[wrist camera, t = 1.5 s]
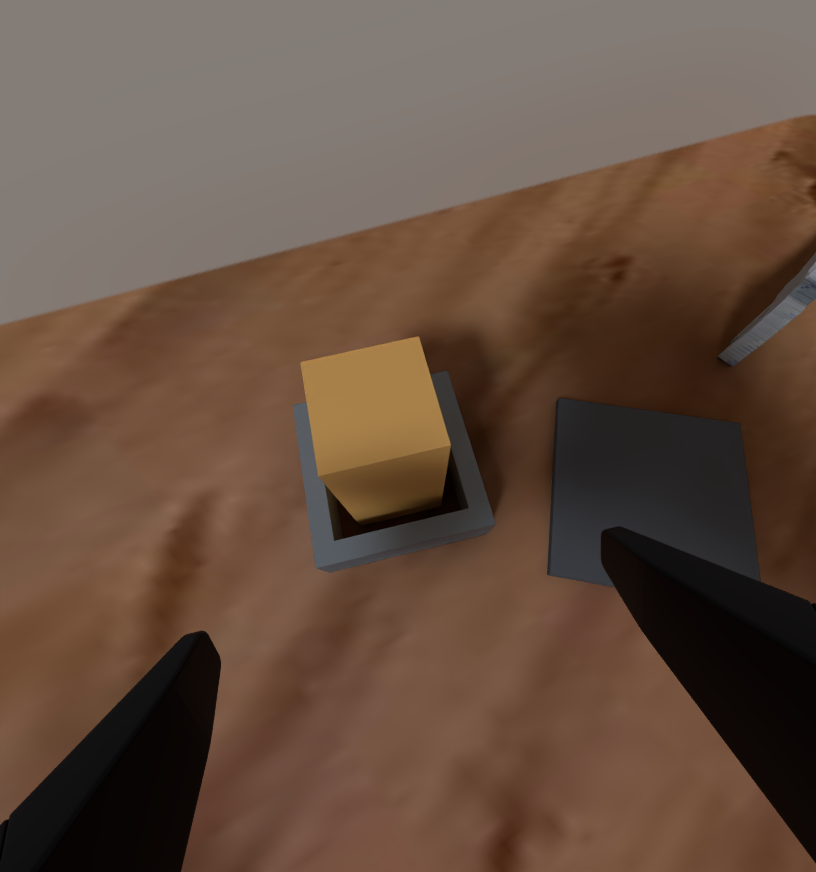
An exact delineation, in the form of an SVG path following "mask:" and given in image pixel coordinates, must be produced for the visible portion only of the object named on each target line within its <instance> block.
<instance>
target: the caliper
mask: <svg viewBox="0 0 816 872" xmlns="http://www.w3.org/2000/svg"><path fill="white" fill-rule="evenodd" d="M814 299H816V252H815V254H814V255H813V256H812V257H811V258H810V260H809V261H808V262H807V263H806V264H805V266H804V267H803V268H802V269H801V271H800V272H799V273H798V274H797V275H796V276H795V277H794V278H793V279H792V280H790V281H789V282H788V283H787V284H786V285H785V286H784V288H783V289H782V290H781V292H780V293H779V294H778V295H777V296H776V299H775V300H774V302H773V303H771V304H770V305H769V306H768V307H767V308H766V309H765V310H764V311H763V312H762V313H761V314H760V315H759V316H757V317H756V318H755V319H754V320H753V321H752V322H751V323H750V324H749V325H748V326H747V327H746V328H745V329H744V330H742V331H741V332H740V333H739V334H738V335H737V336H736V337H735V338H734V339H733V340H732V341H731V342H730V344H731V345H730V346H729V347H728V348H726V349H725V350H724V351H723V352H722V353H721V354H720V355H719V356H718V357H719V358H720V359H722V360H723V361H725V362H726V363H728V364H729V365H731V366H734V365H736V364H737V363H738V362H740V361H741V360H742V359H744V358H745V357H746V356H748V355H749V354H750V353H751V352H753V351H754V350H755V349H757V348H758V347H759V346H761V345H762V344H763V343H765V342H766V341H767V340H768V339H770V338H771V337H772V336H773V335H774V334H776V333H777V332H778V331H779V330H780V329H782V328H783V327H784V326H785V325H787V324H788V323H789V322H790V321H791V320H793V319H794V318H795V317H796V316H797V315H799V314H800V313H801V312H802V311H803V310H804V309H805V308H806V307H807V305H808V304H810V303H811V302H812V301H813V300H814Z"/></svg>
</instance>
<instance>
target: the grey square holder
mask: <svg viewBox="0 0 816 872" xmlns="http://www.w3.org/2000/svg"><path fill="white" fill-rule="evenodd" d="M430 376H431V379H432V383H433V386H434V389H435V393H436V396H437V400H438V403H439V406H440V410H441V413H442V417H443V420H444V423H445V427H446V430H447V434H448V437H449V440H450V444H451V448H450V454H449V460H448V468H449V471H450V475H451V478H452V481H453V485H454V488H455V492H456V495H457V499H458V502H459V506H460V509H461V510H460V511H455V512H451V513H447V514H443V515H439V516H435V517H431V518H427V519H423V520H418V521H414V522H410V523H406V524H402V525H398V526H394V527H390V528H386V529H381V530H377V531H373V532H369V533H365V534H361V535H357V536H353V537H349V538H344V537H343V531H342V525H341V519H340V513H339V508H338V502H337V498H336V497H335V495H334V494H333V493H332V492H331V491H330V490H329V488H328V487H327V486H326V485H325V484H324V482H323V481H322V480H321V479H320V478H319V477H318V472H317V465H316V459H315V452H314V446H313V440H312V433H311V427H310V420H309V414H308V407H307V402H305V403H300V404H296V405H293V410H294V417H295V424H296V431H297V439H298V446H299V453H300V460H301V467H302V474H303V481H304V488H305V495H306V502H307V510H308V517H309V524H310V531H311V538H312V545H313V552H314V559H315V566H316V568H317V569H320V570H323V571H326V572H334V571H338V570H342V569H347V568H351V567H355V566H359V565H363V564H367V563H371V562H375V561H379V560H383V559H387V558H391V557H395V556H399V555H403V554H407V553H411V552H415V551H419V550H423V549H427V548H432V547H436V546H440V545H444V544H448V543H452V542H456V541H460V540H464V539H468V538H472V537H476V536H480V535H484V534H487V533H488V532H489V531H490V530H491V529H492V528H493V527H494V526H495V524H496V523H495V519H494V516H493V513H492V510H491V507H490V504H489V500H488V497H487V494H486V491H485V488H484V484H483V481H482V478H481V475H480V472H479V469H478V465H477V462H476V459H475V456H474V453H473V450H472V446H471V443H470V440H469V437H468V434H467V431H466V427H465V424H464V421H463V418H462V415H461V411H460V408H459V405H458V402H457V399H456V396H455V392H454V389H453V386H452V383H451V380H450V377H449V373H448V370H447V371H443V372H438V373H434V374H430Z"/></svg>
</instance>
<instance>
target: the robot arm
mask: <svg viewBox="0 0 816 872" xmlns="http://www.w3.org/2000/svg"><path fill="white" fill-rule="evenodd" d="M601 563H602V565H603V568H604V570H605V571H606V573H607V575H608V576H609V578H610V580H611V581H612V583H613V585H614V586H615V588H616V590H617V591H618V593H619V595H620V596H621V598H622V599H623V601H624V603H625V604H626V606H627V608H628V609H629V611H630V613H631V614H632V616H633V618H634V619H635V621H636V622H637V624H638V626H639V627H640V629H641V630H642V632H643V633H644V634H645V636H646V637H647V639H648V640H649V641H650V643H651V644H652V645H653V647H654V648H655V649H656V651H657V652H658V653H659V655H660V656H661V657H662V659H663V660H664V661H665V663H666V664H667V665H668V667H669V668H670V669H671V671H672V672H673V673H674V675H675V676H676V677H677V679H678V680H679V681H680V683H681V684H682V685H683V687H684V688H685V689H686V691H687V692H688V693H689V695H690V696H691V697H692V699H693V700H694V701H695V703H696V704H697V705H698V707H699V708H700V709H701V711H702V712H703V713H704V715H705V716H706V717H707V719H708V720H709V721H710V723H711V724H712V725H713V727H714V728H715V729H716V731H717V732H718V733H719V735H720V736H721V737H722V739H723V740H724V741H725V743H726V744H727V745H728V747H729V748H730V750H731V751H732V752H733V754H734V755H735V756H736V758H737V759H738V760H739V762H740V763H741V764H742V766H743V767H744V768H745V770H746V771H747V772H748V774H749V775H750V776H751V778H752V779H753V780H754V782H755V783H756V784H757V786H758V787H759V788H760V790H761V791H762V792H763V794H764V795H765V796H766V798H767V799H768V800H769V802H770V803H771V804H772V806H773V807H774V808H775V810H776V811H777V812H778V814H779V815H780V816H781V818H782V819H783V820H784V822H785V823H786V824H787V826H788V827H789V828H790V830H791V831H792V832H793V834H794V835H795V836H796V838H797V839H798V840H799V842H800V843H801V844H802V846H803V847H804V848H805V850H806V851H807V852H808V854H809V855H810V856H811V858H812V859H813V860H814V862H815V863H816V604H815V603H813V604H811V603H810V602H809V601H808V600H805V599H803V598H800V597H798V596H795V595H793V594H790V593H788V592H785V591H783V590H780V589H778V588H775V587H772V586H770V585H767V584H765V583H762V582H760V581H757V580H755V579H752V578H750V577H747V576H745V575H742V574H740V573H737V572H735V571H732V570H730V569H727V568H725V567H722V566H720V565H717V564H715V563H712V562H710V561H707V560H704V559H702V558H699V557H697V556H694V555H692V554H689V553H687V552H684V551H682V550H679V549H677V548H674V547H672V546H669V545H667V544H664V543H662V542H659V541H657V540H654V539H652V538H649V537H647V536H644V535H642V534H639V533H637V532H634V531H631V530H629V529H626V528H624V527H621V526H616V527H612V528H608V529H605V530H603V531H602V532H601ZM220 670H221V659H220V656H219V654H218V652H217V650H216V648H215V646H214V644H213V642H212V641H211V639H210V637H209V635H208V634H207V633H206V632H205V631H198V632H194V633H190V634H187V635H184V636H183V637H182V638H181V639H180V640H179V641H178V642H177V643H176V644H175V645H174V646H173V647H172V648H171V649H170V650H169V651H168V652H167V653H166V654H165V655H164V656H163V657H162V658H161V659H160V660H159V661H158V663H157V664H156V665H155V666H154V667H153V668H152V669H151V670H150V671H149V672H148V673H147V674H146V675H145V676H144V677H143V678H142V679H141V680H140V681H139V682H138V683H137V684H136V685H135V686H134V687H133V688H132V689H131V690H130V691H129V693H128V694H127V695H126V696H125V697H124V698H123V699H122V700H121V701H120V702H119V703H118V704H117V705H116V706H115V707H114V708H113V709H112V710H111V711H110V712H109V713H108V714H107V715H106V716H105V717H104V718H103V719H102V720H101V721H100V722H99V724H98V725H97V726H96V727H95V728H94V729H93V730H92V731H91V732H90V733H89V734H88V735H87V736H86V737H85V738H84V739H83V740H82V741H81V742H80V743H79V744H78V745H77V746H76V747H75V748H74V749H73V750H72V751H71V752H70V753H69V755H68V756H67V757H66V758H65V759H64V760H63V761H62V762H61V763H60V764H59V765H58V766H57V767H56V768H55V769H54V770H53V771H52V772H51V773H50V774H49V775H48V776H47V777H46V778H45V779H44V780H43V781H42V782H41V783H40V784H39V786H38V787H37V788H36V789H35V790H34V791H33V792H32V793H31V794H30V795H29V796H28V797H27V798H26V799H25V800H24V801H23V802H22V803H21V804H20V805H19V806H18V807H17V808H16V809H15V810H14V811H13V812H12V813H11V815H10V817H9V819H8V820H5V821H4V822H3V823H2V824H1V825H0V872H181V869H182V865H183V861H184V856H185V852H186V848H187V844H188V839H189V835H190V831H191V826H192V822H193V818H194V813H195V809H196V805H197V801H198V796H199V792H200V788H201V783H202V779H203V775H204V770H205V766H206V762H207V758H208V753H209V748H210V743H211V737H212V731H213V723H214V716H215V708H216V701H217V693H218V685H219V678H220Z"/></svg>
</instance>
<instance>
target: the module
mask: <svg viewBox="0 0 816 872" xmlns="http://www.w3.org/2000/svg"><path fill="white" fill-rule="evenodd" d="M300 363H301V369H302V375H303V382H304V388H305V395H306V401H307V407H308V414H309V420H310V427H311V433H312V440H313V446H314V452H315V459H316V465H317V472H318V477H319V478H320V479H321V480H322V481H323V482H324V484H325V485H326V486H327V487H328V488H329V490H330V491H331V492H332V493H333V494H334V495H335V497H336V498H337V499H338V500H339V501H340V502H341V504H342V505H343V506H344V507H345V508H346V509H347V511H348V512H349V513H350V514H351V515H352V517H353V518H354V519H355V520H356V521H357V522H358V524H359V525H360V526H363V525H367V524H371V523H375V522H379V521H383V520H387V519H392V518H396V517H400V516H404V515H408V514H412V513H416V512H421V511H425V510H429V509H433V508H437V507H441V502H442V496H443V490H444V484H445V478H446V472H447V466H448V460H449V454H450V448H451V444H450V440H449V437H448V434H447V430H446V427H445V423H444V420H443V417H442V413H441V410H440V406H439V403H438V400H437V396H436V393H435V389H434V386H433V383H432V379H431V376H430V372H429V369H428V366H427V362H426V359H425V356H424V352H423V349H422V345H421V342H420V339H419V336H418V337H413V338H409V339H404V340H400V341H395V342H390V343H386V344H381V345H377V346H372V347H368V348H363V349H359V350H354V351H349V352H345V353H340V354H336V355H331V356H327V357H322V358H318V359H313V360H308V361H304V362H300Z"/></svg>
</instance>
